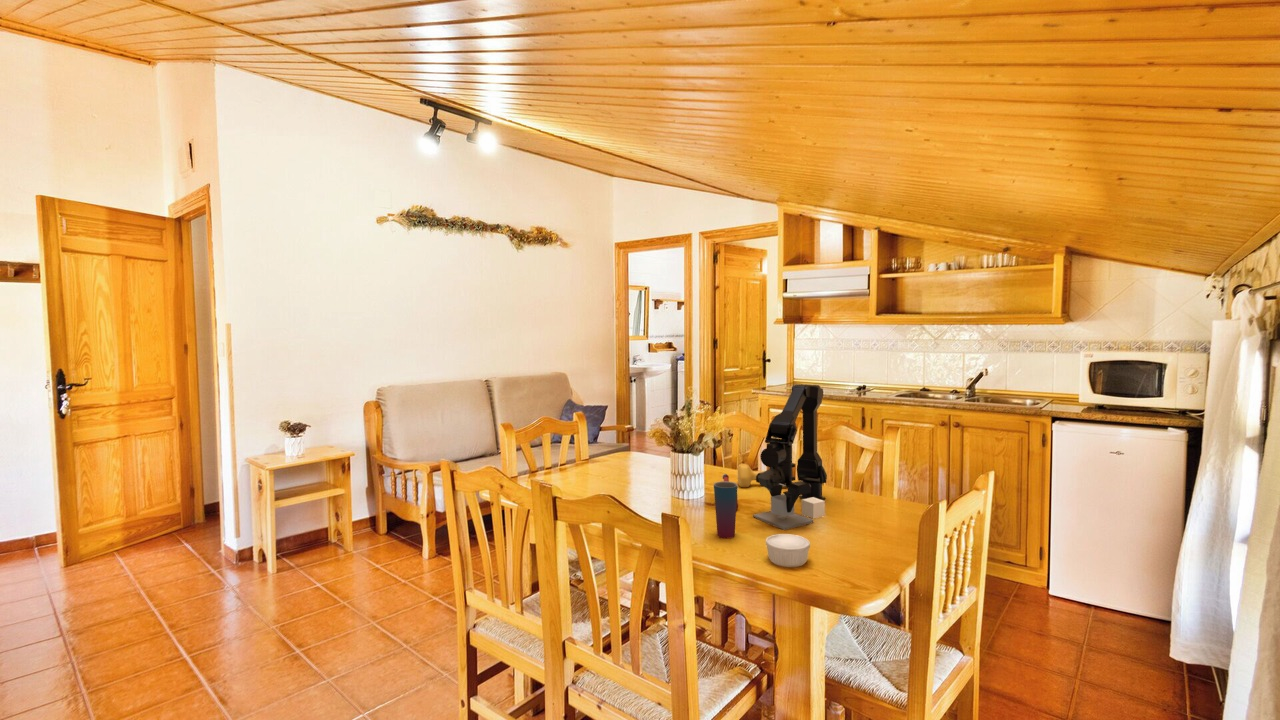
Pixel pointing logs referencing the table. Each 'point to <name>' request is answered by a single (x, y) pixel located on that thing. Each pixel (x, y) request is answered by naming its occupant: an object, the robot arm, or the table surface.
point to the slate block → (780, 506)
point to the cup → (725, 508)
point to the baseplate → (783, 520)
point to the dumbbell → (747, 475)
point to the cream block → (813, 507)
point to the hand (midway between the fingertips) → (782, 510)
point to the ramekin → (787, 550)
